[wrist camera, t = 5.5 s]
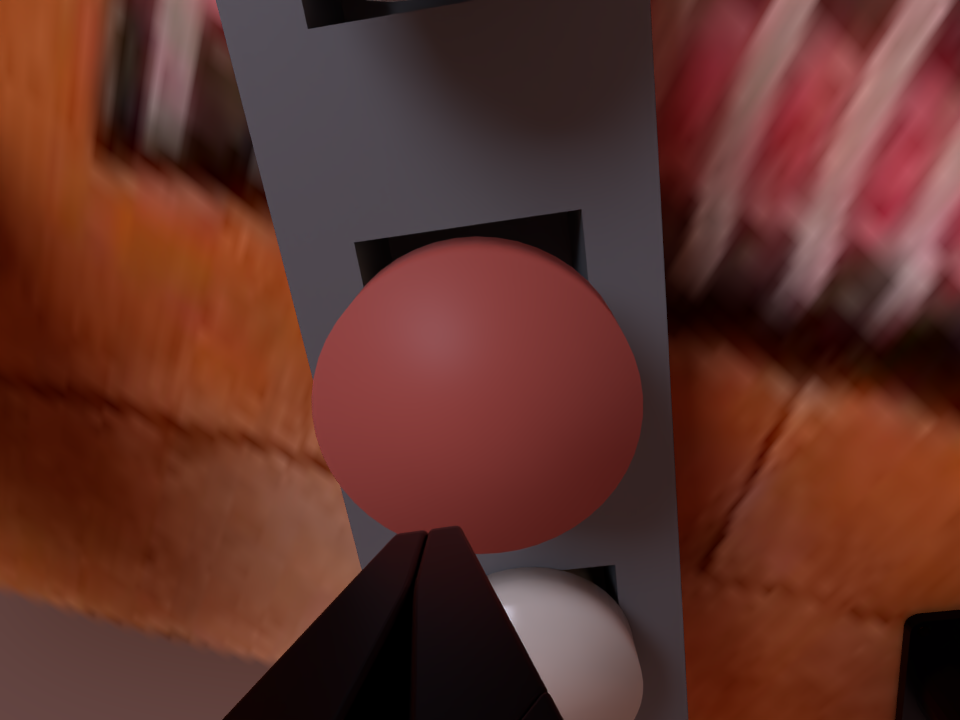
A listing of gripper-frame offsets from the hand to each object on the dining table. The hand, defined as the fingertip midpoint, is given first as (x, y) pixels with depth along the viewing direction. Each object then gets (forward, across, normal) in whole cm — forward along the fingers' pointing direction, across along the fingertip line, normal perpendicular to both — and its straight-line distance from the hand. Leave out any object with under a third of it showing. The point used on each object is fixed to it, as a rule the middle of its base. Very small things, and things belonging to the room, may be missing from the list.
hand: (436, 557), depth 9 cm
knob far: (+12, 0, +10) cm, 16 cm away
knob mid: (+9, 0, 0) cm, 9 cm away
